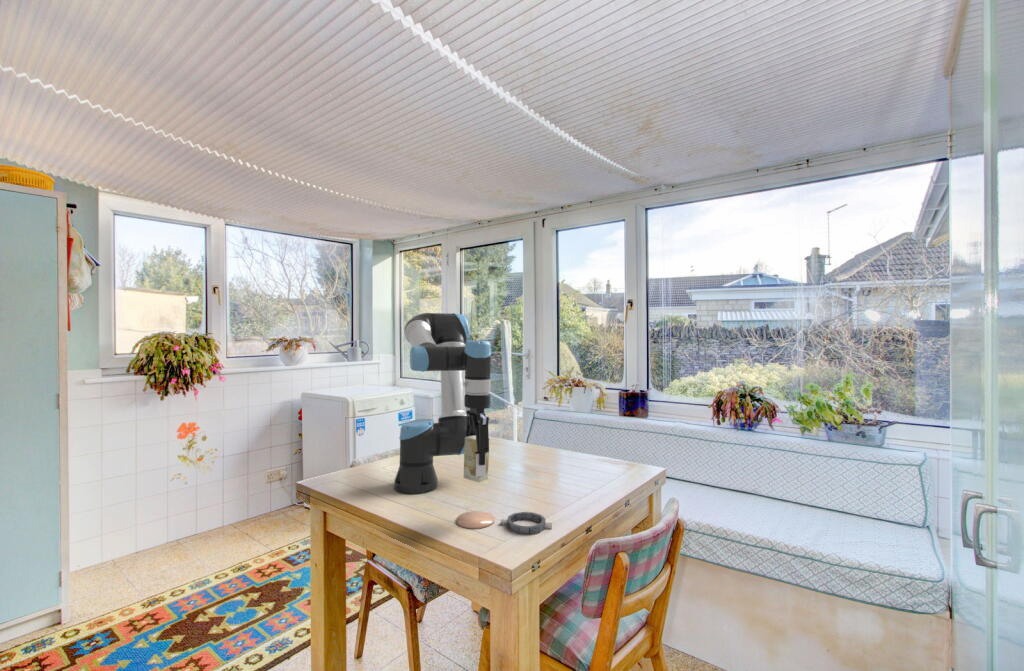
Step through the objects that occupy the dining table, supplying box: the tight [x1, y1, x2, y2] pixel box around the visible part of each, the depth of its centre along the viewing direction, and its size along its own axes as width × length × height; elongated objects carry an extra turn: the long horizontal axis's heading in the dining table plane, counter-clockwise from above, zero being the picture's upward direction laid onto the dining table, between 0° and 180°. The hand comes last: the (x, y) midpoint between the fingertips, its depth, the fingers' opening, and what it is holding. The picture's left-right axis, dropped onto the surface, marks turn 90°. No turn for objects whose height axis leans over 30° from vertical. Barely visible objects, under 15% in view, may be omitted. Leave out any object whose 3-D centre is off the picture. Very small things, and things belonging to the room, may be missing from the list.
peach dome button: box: [456, 510, 495, 530], centre depth 132 cm, size 11×11×1 cm
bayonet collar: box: [500, 511, 553, 535], centre depth 129 cm, size 15×11×2 cm
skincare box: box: [463, 435, 490, 483], centre depth 132 cm, size 6×4×12 cm
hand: (476, 471), depth 132 cm, fingers closed on skincare box, 7 cm apart
